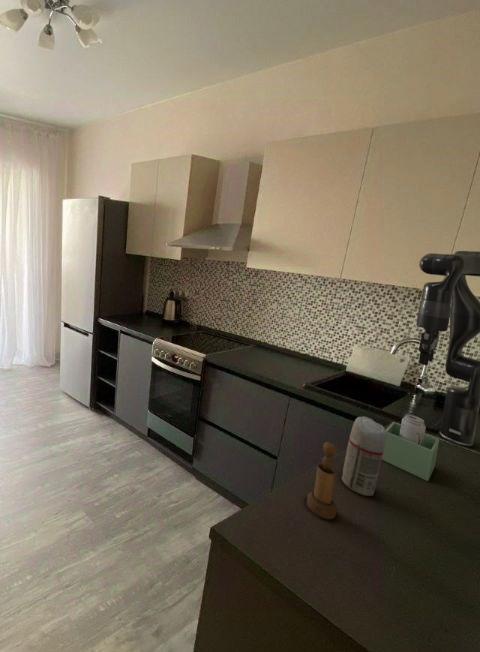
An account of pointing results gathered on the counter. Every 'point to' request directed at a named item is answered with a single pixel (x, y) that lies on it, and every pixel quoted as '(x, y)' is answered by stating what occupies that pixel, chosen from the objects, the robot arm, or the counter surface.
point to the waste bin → (410, 453)
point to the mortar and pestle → (324, 486)
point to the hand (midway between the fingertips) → (425, 362)
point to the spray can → (364, 456)
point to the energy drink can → (413, 429)
